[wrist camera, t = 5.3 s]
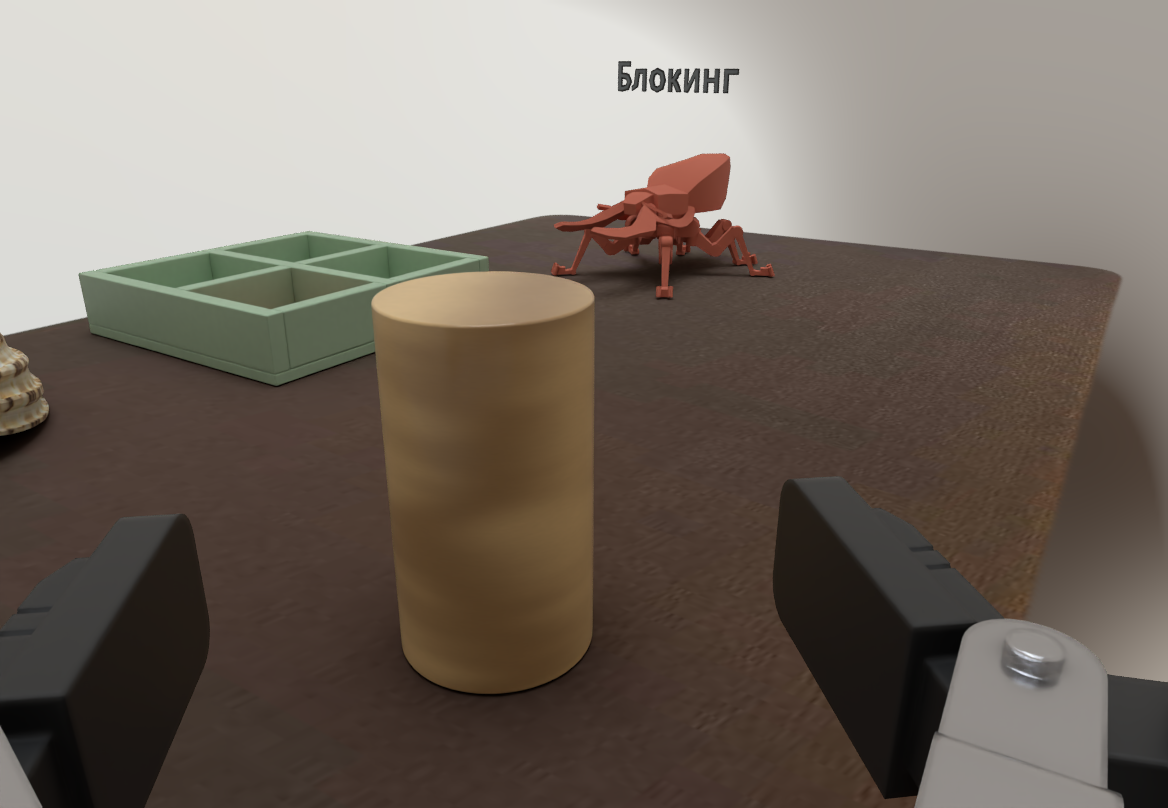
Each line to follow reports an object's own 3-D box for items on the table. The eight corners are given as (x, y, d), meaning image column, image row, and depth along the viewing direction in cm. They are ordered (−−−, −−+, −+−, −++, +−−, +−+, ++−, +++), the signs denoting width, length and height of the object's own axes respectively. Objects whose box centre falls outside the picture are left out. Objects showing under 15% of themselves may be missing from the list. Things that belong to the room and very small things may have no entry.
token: (375, 688, 18) (337, 322, 15) (429, 575, 22) (406, 268, 19) (584, 701, 18) (584, 328, 15) (599, 583, 22) (602, 272, 19)
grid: (276, 386, 36) (266, 315, 34) (90, 333, 43) (77, 273, 42) (491, 311, 46) (488, 256, 45) (314, 279, 54) (309, 230, 52)
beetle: (651, 244, 64) (656, 62, 60) (799, 269, 56) (818, 61, 52) (500, 278, 54) (493, 60, 49) (656, 313, 46) (664, 58, 42)
